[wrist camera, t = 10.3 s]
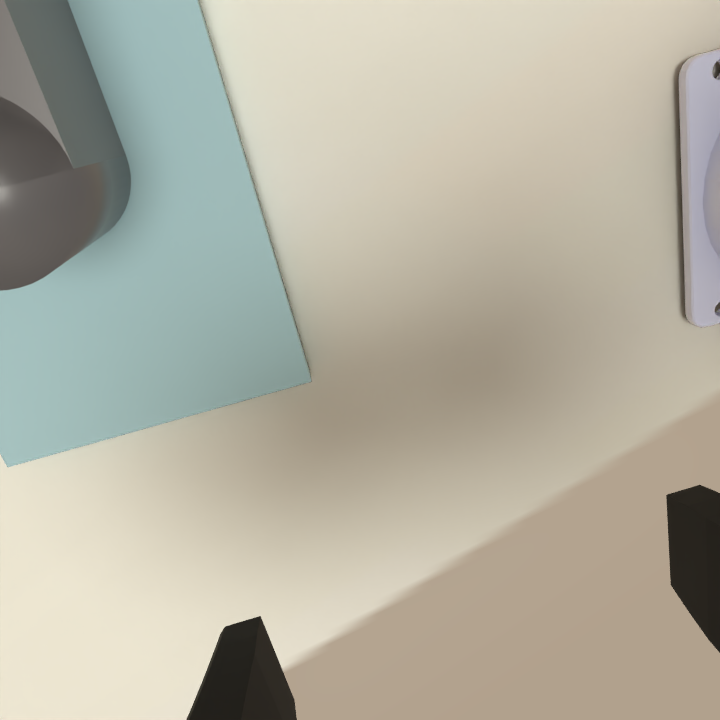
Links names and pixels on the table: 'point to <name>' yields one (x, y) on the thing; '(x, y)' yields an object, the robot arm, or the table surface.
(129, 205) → the desk mat
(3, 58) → the connector
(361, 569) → the table surface
